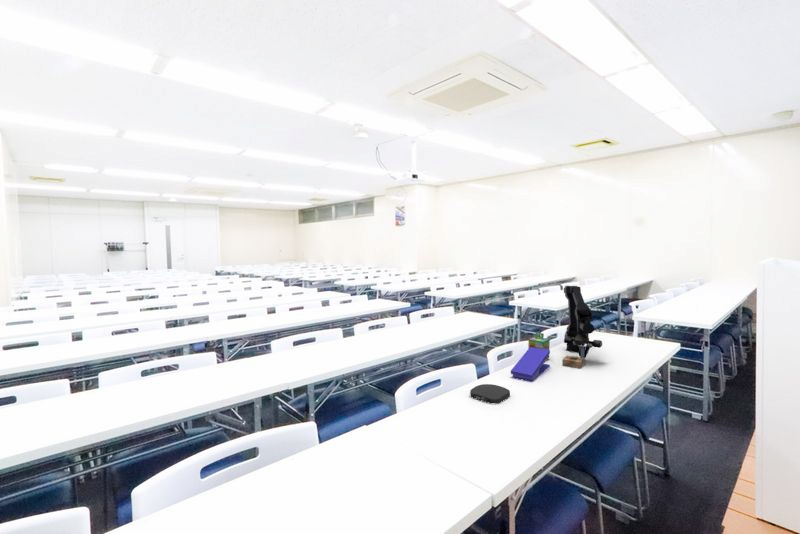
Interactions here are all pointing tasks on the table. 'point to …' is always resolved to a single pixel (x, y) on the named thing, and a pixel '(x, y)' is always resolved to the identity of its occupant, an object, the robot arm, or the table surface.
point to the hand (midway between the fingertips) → (582, 356)
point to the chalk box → (539, 342)
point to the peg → (582, 351)
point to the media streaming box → (490, 393)
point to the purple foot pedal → (531, 364)
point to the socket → (573, 361)
